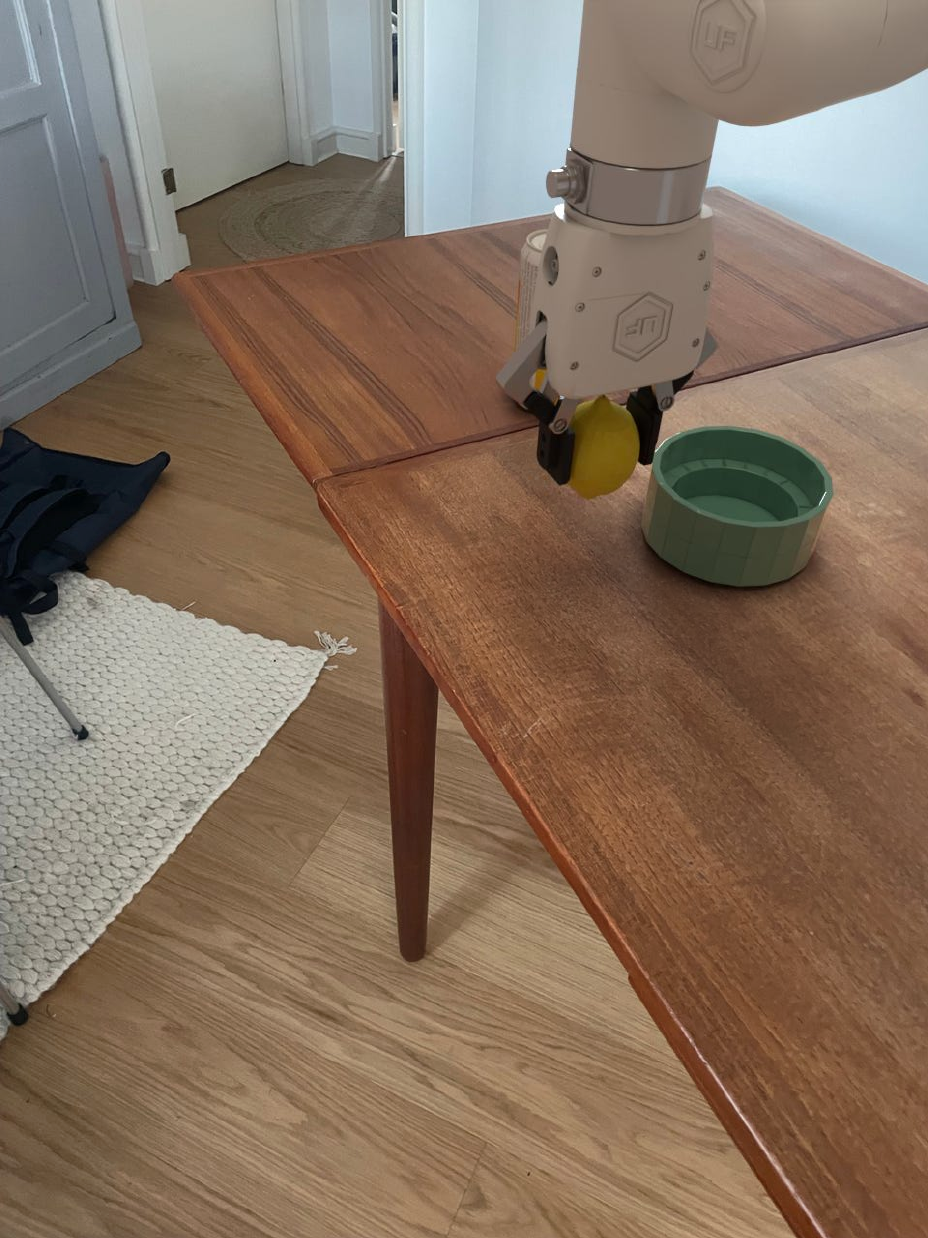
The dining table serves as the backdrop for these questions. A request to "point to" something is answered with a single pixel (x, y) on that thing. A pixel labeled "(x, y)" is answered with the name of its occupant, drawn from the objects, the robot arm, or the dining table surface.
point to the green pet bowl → (735, 505)
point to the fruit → (602, 447)
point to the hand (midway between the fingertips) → (595, 461)
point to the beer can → (529, 293)
